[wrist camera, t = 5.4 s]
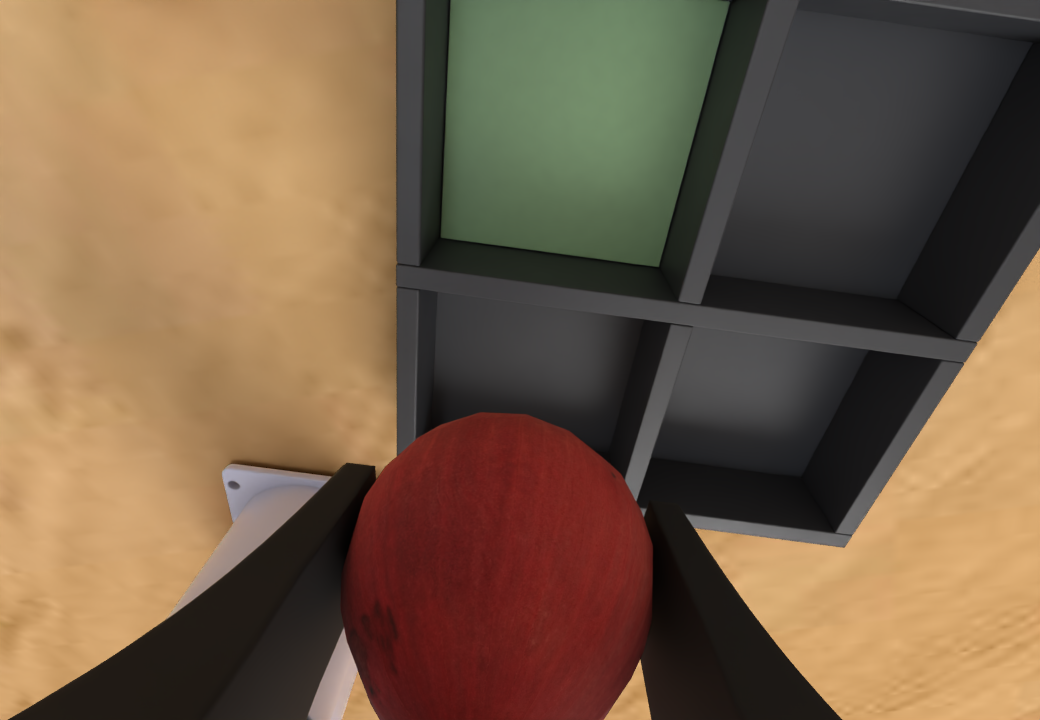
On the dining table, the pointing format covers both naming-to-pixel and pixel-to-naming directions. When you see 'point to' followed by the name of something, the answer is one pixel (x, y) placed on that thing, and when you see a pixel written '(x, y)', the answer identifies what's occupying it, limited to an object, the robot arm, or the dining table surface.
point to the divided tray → (712, 232)
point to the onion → (497, 577)
